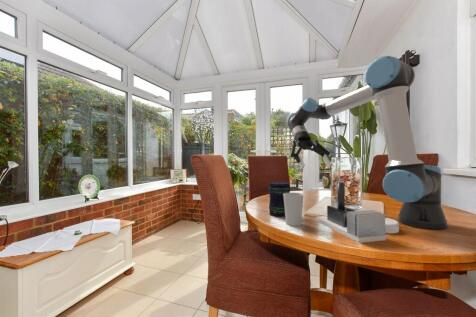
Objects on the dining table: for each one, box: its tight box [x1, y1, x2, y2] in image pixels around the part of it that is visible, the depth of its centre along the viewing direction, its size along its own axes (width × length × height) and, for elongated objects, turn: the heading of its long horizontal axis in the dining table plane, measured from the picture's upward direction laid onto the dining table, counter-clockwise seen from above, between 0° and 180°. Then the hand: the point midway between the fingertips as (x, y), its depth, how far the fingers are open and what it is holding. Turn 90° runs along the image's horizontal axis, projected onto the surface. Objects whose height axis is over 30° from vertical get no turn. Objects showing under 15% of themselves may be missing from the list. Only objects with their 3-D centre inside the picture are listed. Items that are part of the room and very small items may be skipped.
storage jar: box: [268, 181, 291, 218], centre depth 107 cm, size 10×10×15 cm
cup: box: [283, 192, 304, 227], centre depth 93 cm, size 8×8×12 cm
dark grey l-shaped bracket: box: [336, 181, 347, 222], centre depth 82 cm, size 16×3×14 cm, turn 12°
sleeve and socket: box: [326, 205, 386, 238], centre depth 83 cm, size 20×10×7 cm, turn 12°
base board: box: [315, 215, 387, 244], centre depth 85 cm, size 26×10×2 cm, turn 12°
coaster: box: [385, 217, 400, 235], centre depth 85 cm, size 10×10×4 cm
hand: (316, 166), depth 106 cm, fingers open, 13 cm apart
